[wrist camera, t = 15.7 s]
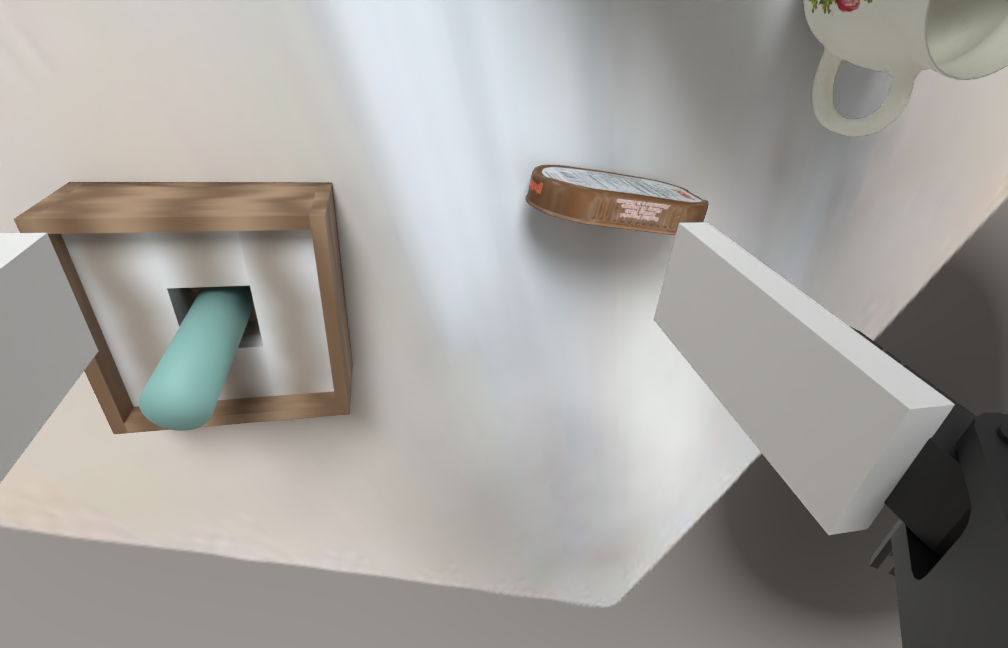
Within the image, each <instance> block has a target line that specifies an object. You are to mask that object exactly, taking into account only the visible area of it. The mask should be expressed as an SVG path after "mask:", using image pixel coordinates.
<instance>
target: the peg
mask: <svg viewBox="0 0 1008 648" xmlns="http://www.w3.org/2000/svg"><path fill="white" fill-rule="evenodd" d="M253 307H254V302H253V297H252V293H251V288H250V286H222V287H202V289H201V290H200V292H199V294H198V296H197V297H196V299H195V301H194V302H193V304H192V306H191V308H190V309H189V311H188V313H187V315H186V316H185V318H184V320H183V322H182V323H181V325H180V327H179V329H178V330H177V332H176V334H175V336H174V337H173V339H172V341H171V343H170V344H169V346H168V348H167V349H166V351H165V353H164V355H163V356H162V358H161V360H160V362H159V363H158V365H157V367H156V369H155V370H154V372H153V374H152V376H151V377H150V379H149V381H148V383H147V384H146V386H145V388H144V390H143V391H142V393H141V395H140V397H139V407H140V410H141V412H142V413H143V415H144V416H145V417H146V418H147V419H148V420H149V421H151V422H152V423H154V424H156V425H158V426H160V427H163V428H166V429H170V430H191V429H195V428H198V427H200V426H202V425H204V424H205V423H206V422H208V421H209V419H210V418H211V416H212V414H213V411H214V409H215V406H216V403H217V401H218V398H219V396H220V393H221V390H222V388H223V385H224V383H225V380H226V377H227V375H228V372H229V370H230V367H231V364H232V362H233V359H234V357H235V354H236V351H237V349H238V346H239V344H240V341H241V338H242V336H243V333H244V331H245V328H246V325H247V323H248V320H249V317H250V315H251V312H252V310H253Z"/></svg>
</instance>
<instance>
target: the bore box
mask: <svg viewBox="0 0 1008 648" xmlns="http://www.w3.org/2000/svg"><path fill="white" fill-rule="evenodd" d="M14 220H15V223H16V225H17V227H18V229H19V231H20V233H47V234H48V236H49V238H50V241H51V243H52V245H53V248H54V250H55V252H56V254H57V257H58V259H59V261H60V264H61V266H62V268H63V271H64V273H65V275H66V277H67V280H68V282H69V284H70V287H71V289H72V291H73V293H74V296H75V298H76V300H77V303H78V305H79V307H80V310H81V312H82V314H83V316H84V319H85V321H86V323H87V326H88V328H89V330H90V333H91V335H92V337H93V339H94V342H95V344H96V346H97V349H98V353H97V354H96V355H95V357H94V358H93V359H92V361H91V362H90V363H89V365H88V366H87V367H86V369H85V370H84V371H85V373H86V375H87V378H88V380H89V382H90V384H91V386H92V388H93V390H94V393H95V395H96V397H97V399H98V401H99V403H100V405H101V408H102V410H103V412H104V414H105V416H106V418H107V421H108V423H109V425H110V427H111V429H112V431H113V433H114V434H123V433H135V432H146V431H158V430H170V429H166V428H163V427H160V426H158V425H156V424H154V423H152V422H151V421H149V420H148V419H147V418H146V417H145V416H144V415H143V413H142V412H141V410H140V407H139V397H140V395H141V393H142V391H143V390H144V388H145V386H146V384H147V383H148V381H149V379H150V377H151V376H152V374H153V372H154V370H155V369H156V367H157V365H158V363H159V362H160V360H161V358H162V356H163V355H164V353H165V351H166V349H167V348H168V346H169V344H170V343H171V341H172V339H173V337H174V336H175V334H176V332H177V330H178V329H179V327H180V325H181V323H182V322H183V320H184V318H185V316H186V315H187V313H188V311H189V309H190V308H191V306H192V304H193V302H194V301H195V299H196V297H197V296H198V294H199V292H200V290H201V289H202V287H222V286H250V288H251V293H252V297H253V302H254V307H253V310H252V312H251V315H250V317H249V320H248V323H247V325H246V328H245V331H244V333H243V336H242V338H241V341H240V344H239V346H238V349H237V351H236V354H235V357H234V359H233V362H232V364H231V367H230V370H229V372H228V375H227V377H226V380H225V383H224V385H223V388H222V390H221V393H220V396H219V398H218V401H217V403H216V406H215V409H214V411H213V414H212V416H211V418H210V419H209V421H208V422H206V423H205V424H204V425H202V426H200V427H205V426H216V425H228V424H240V423H251V422H263V421H275V420H286V419H298V418H310V417H321V416H333V415H345V414H350V399H351V383H352V366H353V364H352V355H351V347H350V338H349V329H348V320H347V311H346V302H345V294H344V285H343V276H342V267H341V258H340V250H339V241H338V232H337V223H336V214H335V205H334V197H333V188H332V183H295V182H69V183H67V184H66V185H64V186H63V187H61V188H60V189H58V190H57V191H55V192H54V193H52V194H51V195H49V196H48V197H46V198H45V199H43V200H42V201H40V202H39V203H37V204H36V205H34V206H33V207H31V208H30V209H28V210H27V211H25V212H24V213H22V214H21V215H19V216H18V217H16V218H15V219H14Z"/></svg>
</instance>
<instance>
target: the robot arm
mask: <svg viewBox="0 0 1008 648" xmlns="http://www.w3.org/2000/svg"><path fill="white" fill-rule="evenodd" d="M654 321H655V322H656V323H657V324H658V326H659V327H660V328H661V329H662V331H663V332H664V333H665V334H666V336H667V337H668V338H669V339H670V340H671V342H672V343H673V344H674V345H675V347H676V348H677V349H678V350H679V352H680V353H681V354H682V355H683V356H684V358H685V359H686V360H687V361H688V363H689V364H690V365H691V366H692V368H693V369H694V370H695V371H696V372H697V374H698V375H699V376H700V377H701V379H702V380H703V381H704V382H705V384H706V385H707V386H708V387H709V388H710V390H711V391H712V392H713V393H714V395H715V396H716V397H717V398H718V400H719V401H720V402H721V403H722V404H723V406H724V407H725V408H726V409H727V411H728V412H729V413H730V414H731V416H732V417H733V418H734V419H735V420H736V422H737V423H738V424H739V425H740V427H741V428H742V429H743V430H744V432H745V433H746V434H747V435H748V436H749V438H750V439H751V440H752V441H753V443H754V444H755V445H756V446H757V448H758V449H759V450H760V451H761V452H762V454H763V455H764V456H765V457H766V459H767V460H768V461H769V462H770V464H771V465H772V466H773V467H774V468H775V470H776V471H777V472H778V473H779V474H780V476H781V477H782V478H783V479H784V481H785V482H786V483H787V484H788V486H789V487H790V488H791V489H792V491H793V492H794V493H795V494H796V495H797V497H798V498H799V499H800V500H801V502H802V503H803V504H804V505H805V507H806V508H807V509H808V510H809V511H810V513H811V514H812V515H813V516H814V518H815V519H816V520H817V521H818V523H819V524H820V525H821V526H822V527H823V529H824V530H825V531H826V532H827V534H829V535H832V534H839V533H845V532H851V531H857V530H863V529H868V527H869V526H870V525H871V523H872V522H873V520H874V519H875V517H876V516H877V515H878V513H879V512H880V510H881V509H882V508H883V506H884V505H885V504H886V505H887V506H888V507H889V508H890V509H891V510H892V511H893V512H894V513H895V514H896V515H897V516H898V517H899V518H900V519H899V521H898V522H897V523H896V525H895V526H894V527H893V529H892V530H891V532H890V533H889V534H888V536H887V537H886V538H885V540H884V541H883V542H882V544H881V545H880V546H879V548H878V549H877V551H876V552H875V553H874V554H873V556H872V559H871V564H870V566H873V567H875V568H878V567H879V566H880V565H881V563H882V562H883V561H884V559H885V558H886V557H887V556H893V560H894V565H893V567H892V568H891V569H890V570H889V574H892V575H894V576H895V580H896V589H897V598H898V608H899V618H900V627H901V636H902V646H903V648H1008V415H1007V414H1002V413H983V414H981V415H979V416H975V415H974V414H972V413H971V412H970V411H968V410H967V409H966V408H964V407H963V406H962V405H960V404H959V403H957V402H956V401H955V400H953V399H952V398H950V397H949V396H948V395H946V394H945V393H944V392H942V391H941V390H939V389H938V388H937V387H935V386H934V385H933V384H931V383H930V382H929V381H927V380H926V379H924V378H923V377H922V376H920V375H919V374H918V373H916V372H915V371H914V370H912V369H911V368H909V367H908V366H907V365H901V361H900V360H898V359H897V358H896V357H894V356H893V355H892V354H890V353H889V352H887V351H883V350H882V347H881V346H879V345H878V344H877V343H875V342H874V341H872V340H871V339H870V338H868V337H867V336H866V335H864V334H863V333H861V332H860V331H858V330H856V329H854V328H852V327H850V326H848V325H846V324H845V323H844V322H842V321H841V320H840V319H838V318H837V317H836V316H834V315H833V314H831V313H830V312H829V311H827V310H826V309H825V308H823V307H822V306H821V305H819V304H818V303H817V302H815V301H814V300H812V299H811V298H810V297H808V296H807V295H806V294H804V293H803V292H802V291H800V290H799V289H798V288H796V287H795V286H793V285H792V284H791V283H789V282H788V281H787V280H785V279H784V278H783V277H781V276H780V275H779V274H777V273H776V272H774V271H773V270H772V269H770V268H769V267H768V266H766V265H765V264H764V263H762V262H761V261H759V260H758V259H757V258H755V257H754V256H753V255H751V254H750V253H749V252H747V251H746V250H745V249H743V248H742V247H740V246H739V245H738V244H736V243H735V242H734V241H732V240H731V239H730V238H728V237H727V236H726V235H724V234H723V233H721V232H720V231H719V230H717V229H716V228H715V227H713V226H712V225H711V224H709V223H708V222H698V223H679V225H678V229H677V232H676V236H675V240H674V244H673V248H672V252H671V255H670V259H669V263H668V267H667V271H666V274H665V278H664V282H663V286H662V290H661V294H660V297H659V301H658V305H657V309H656V313H655V316H654ZM97 353H98V349H97V346H96V344H95V342H94V339H93V337H92V335H91V333H90V330H89V328H88V326H87V323H86V321H85V319H84V316H83V314H82V312H81V310H80V307H79V305H78V303H77V300H76V298H75V296H74V293H73V291H72V289H71V287H70V284H69V282H68V280H67V277H66V275H65V273H64V271H63V268H62V266H61V264H60V261H59V259H58V257H57V254H56V252H55V250H54V248H53V245H52V243H51V241H50V238H49V236H48V234H47V233H0V483H1V481H2V480H3V479H4V477H5V476H6V475H7V473H8V472H9V471H10V469H11V468H12V467H13V465H14V464H15V463H16V461H17V460H18V459H19V457H20V456H21V455H22V453H23V452H24V451H25V449H26V448H27V447H28V445H29V444H30V443H31V441H32V440H33V438H34V437H35V436H36V434H37V433H38V432H39V430H40V429H41V428H42V426H43V425H44V424H45V422H46V421H47V420H48V418H49V417H50V416H51V414H52V413H53V412H54V410H55V409H56V408H57V406H58V405H59V404H60V402H61V401H62V400H63V398H64V397H65V396H66V394H67V393H68V392H69V390H70V389H71V387H72V386H73V385H74V383H75V382H76V381H77V379H78V378H79V377H80V375H81V374H82V373H83V371H84V370H85V369H86V367H87V366H88V365H89V363H90V362H91V361H92V359H93V358H94V357H95V355H96V354H97Z"/></svg>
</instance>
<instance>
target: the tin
mask: <svg viewBox="0 0 1008 648" xmlns="http://www.w3.org/2000/svg"><path fill="white" fill-rule="evenodd" d="M526 201H527V203H528V204H530V205H531V206H532V207H534V208H536V209H538V210H540V211H542V212H544V213H547V214H549V215H552V216H555V217H558V218H562V219H565V220H569V221H573V222H578V223H583V224H589V225H596V226H604V227H613V228H621V229H630V230H637V231H645V232H653V233H662V234H669V235H676V232H677V229H678V225H679V223H698V222H703V220H704V218H705V215H706V212H707V208H708V201H706V200H703V199H701V198H699V197H698V196H695V195H693V194H692V193H690V192H689V191H688V190H686V189H684V188H681V187H678V186H675V185H672V184H668V183H664V182H660V181H656V180H651V179H646V178H640V177H634V176H628V175H622V174H616V173H610V172H604V171H597V170H590V169H583V168H576V167H569V166H560V165H541V166H538V167H536V168H535V169H534V170H533V173H532V176H531V180H530V185H529V190H528V194H527V195H526Z"/></svg>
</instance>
